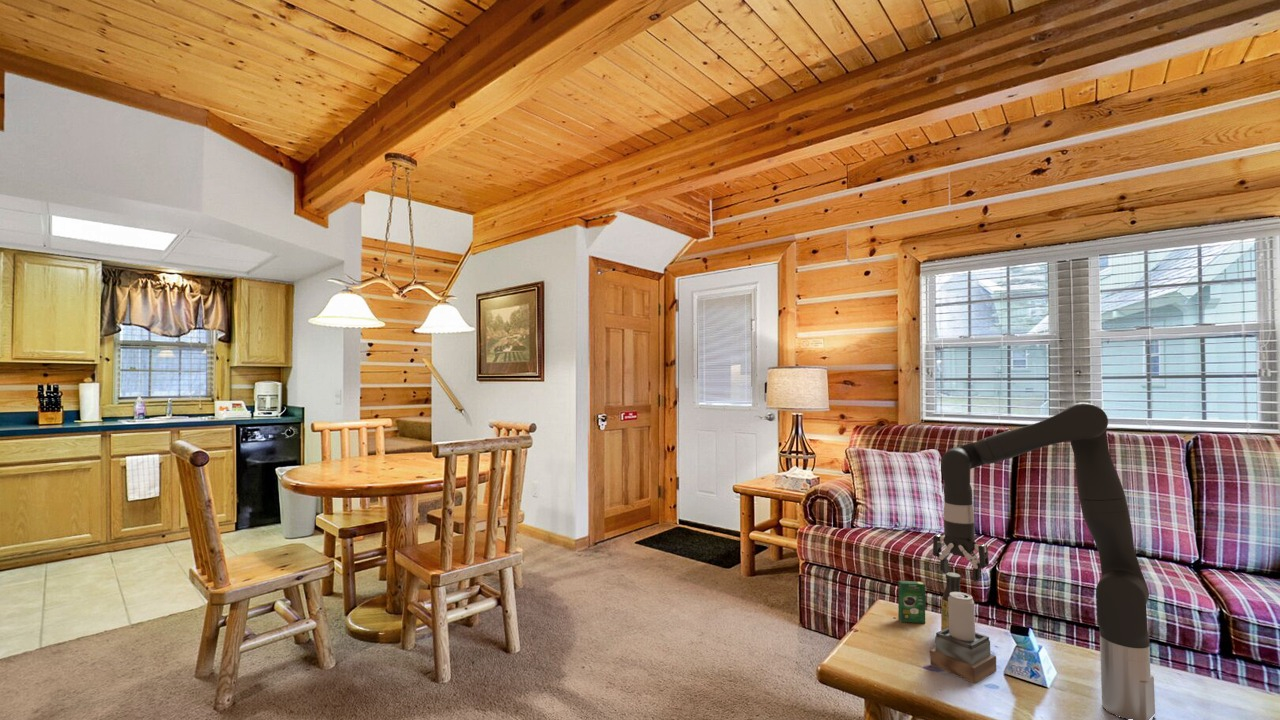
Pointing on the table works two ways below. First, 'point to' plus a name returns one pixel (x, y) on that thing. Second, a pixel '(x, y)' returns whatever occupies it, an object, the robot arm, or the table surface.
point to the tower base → (963, 666)
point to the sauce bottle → (951, 586)
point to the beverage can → (961, 616)
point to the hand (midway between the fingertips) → (960, 577)
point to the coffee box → (911, 602)
